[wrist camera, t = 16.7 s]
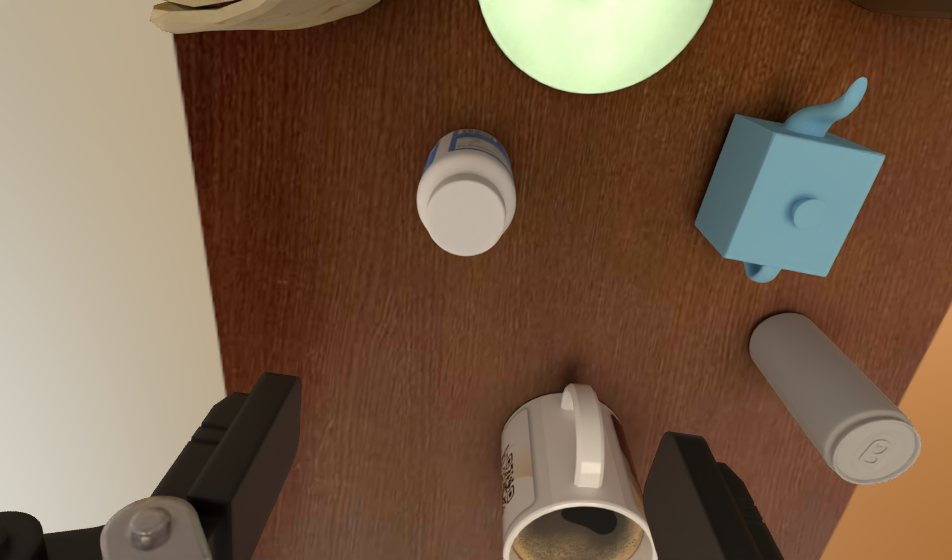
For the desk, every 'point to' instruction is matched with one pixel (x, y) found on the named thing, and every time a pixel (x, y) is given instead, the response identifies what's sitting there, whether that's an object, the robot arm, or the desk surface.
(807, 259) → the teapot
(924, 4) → the pot
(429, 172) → the pill bottle
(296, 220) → the desk surface
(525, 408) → the mug
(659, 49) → the lid
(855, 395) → the beverage can
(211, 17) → the food model
